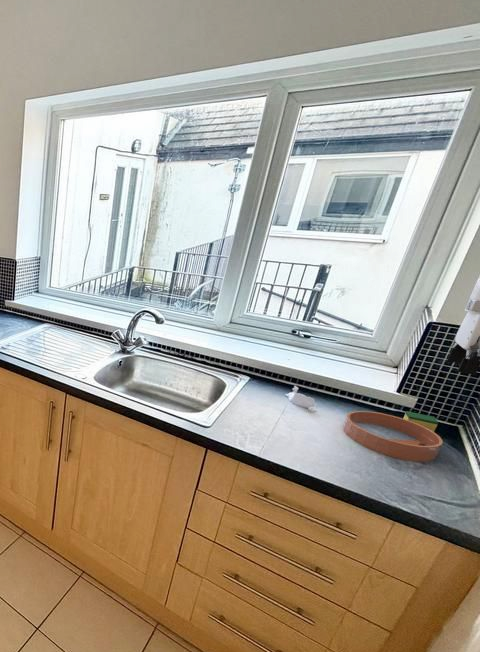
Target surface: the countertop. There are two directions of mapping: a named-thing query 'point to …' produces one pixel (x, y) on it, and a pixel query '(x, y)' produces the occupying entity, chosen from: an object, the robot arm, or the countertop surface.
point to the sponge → (422, 420)
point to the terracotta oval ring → (392, 446)
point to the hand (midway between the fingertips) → (460, 367)
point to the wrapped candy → (301, 399)
